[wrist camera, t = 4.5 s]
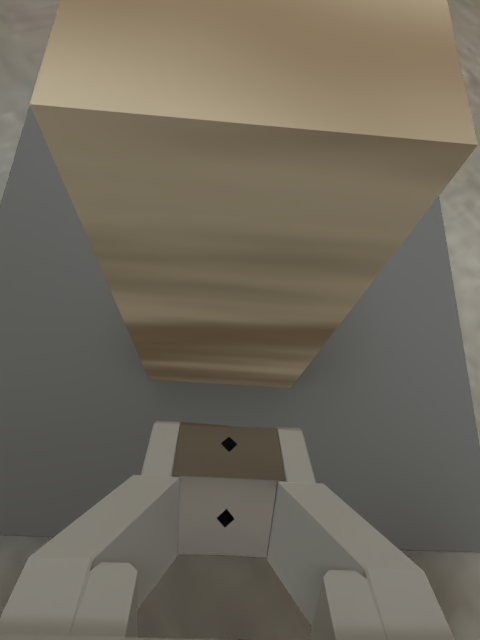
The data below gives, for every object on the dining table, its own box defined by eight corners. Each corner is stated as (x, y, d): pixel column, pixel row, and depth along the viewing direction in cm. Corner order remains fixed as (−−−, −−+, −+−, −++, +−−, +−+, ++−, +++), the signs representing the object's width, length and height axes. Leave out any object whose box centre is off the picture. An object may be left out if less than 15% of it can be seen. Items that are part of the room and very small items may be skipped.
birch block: (290, 387, 19) (477, 144, 6) (149, 379, 19) (29, 104, 6) (290, 302, 21) (438, -36, 8) (159, 294, 20) (82, -77, 7)
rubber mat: (489, 551, 18) (496, 553, 17) (-88, 530, 16) (-97, 531, 16) (415, 80, 28) (418, 73, 27) (52, 44, 26) (50, 36, 26)
